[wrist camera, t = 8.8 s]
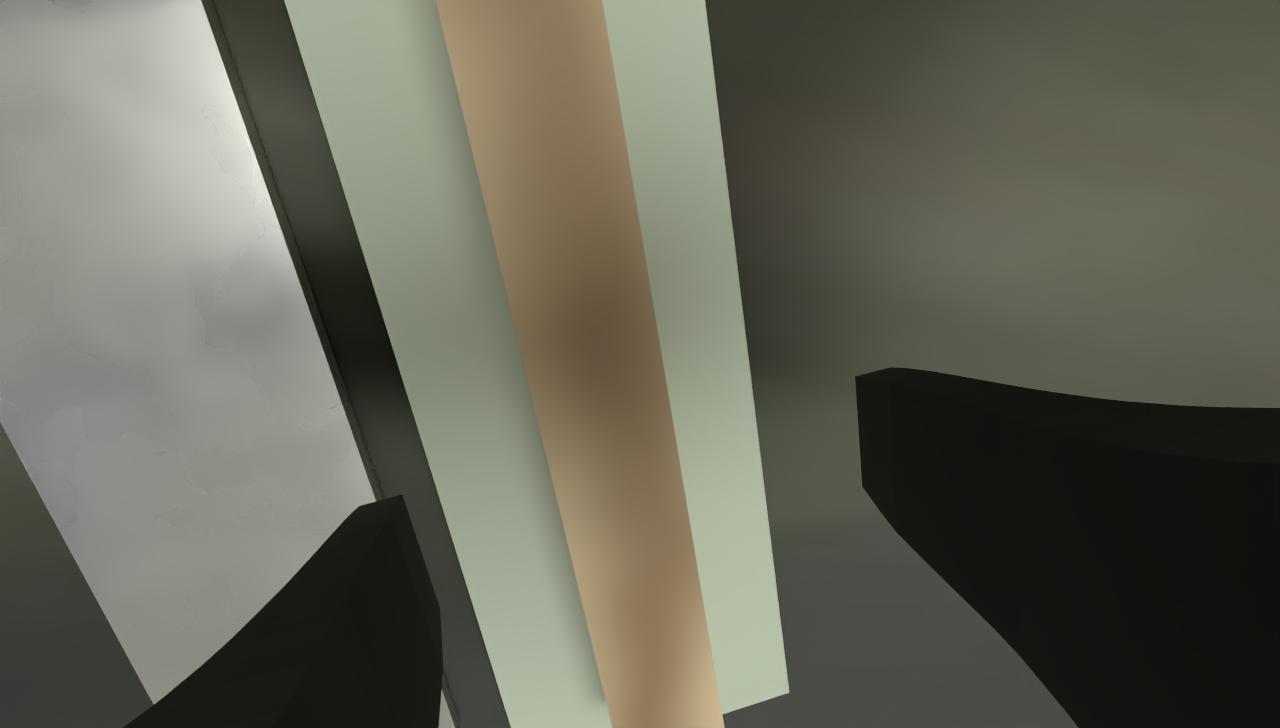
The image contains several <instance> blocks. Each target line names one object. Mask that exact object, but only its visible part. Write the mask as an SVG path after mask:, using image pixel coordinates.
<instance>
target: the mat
mask: <svg viewBox="0 0 1280 728" xmlns="http://www.w3.org/2000/svg"><path fill="white" fill-rule="evenodd" d="M284 1H285V4H286V7H287V11H288V14H289V17H290V20H291V23H292V27H293V30H294V33H295V36H296V40H297V43H298V46H299V49H300V52H301V56H302V59H303V62H304V65H305V68H306V72H307V75H308V78H309V81H310V84H311V88H312V91H313V94H314V97H315V100H316V104H317V107H318V110H319V113H320V116H321V120H322V123H323V126H324V129H325V133H326V136H327V139H328V142H329V145H330V149H331V152H332V155H333V158H334V161H335V165H336V168H337V171H338V174H339V177H340V181H341V184H342V187H343V190H344V193H345V197H346V200H347V203H348V206H349V210H350V213H351V216H352V219H353V222H354V226H355V229H356V232H357V235H358V238H359V242H360V245H361V248H362V251H363V254H364V258H365V261H366V264H367V267H368V270H369V274H370V277H371V280H372V283H373V287H374V290H375V293H376V296H377V299H378V303H379V306H380V309H381V312H382V315H383V319H384V322H385V325H386V328H387V331H388V335H389V338H390V341H391V344H392V347H393V351H394V354H395V357H396V360H397V364H398V367H399V370H400V373H401V376H402V380H403V383H404V386H405V389H406V392H407V396H408V399H409V402H410V405H411V408H412V412H413V415H414V418H415V421H416V424H417V428H418V431H419V434H420V437H421V441H422V444H423V447H424V450H425V453H426V457H427V460H428V463H429V466H430V469H431V473H432V476H433V479H434V482H435V485H436V489H437V492H438V495H439V498H440V501H441V505H442V508H443V511H444V514H445V518H446V521H447V524H448V527H449V530H450V534H451V537H452V540H453V543H454V546H455V550H456V553H457V556H458V559H459V562H460V566H461V569H462V572H463V575H464V578H465V582H466V585H467V588H468V591H469V594H470V598H471V601H472V604H473V607H474V611H475V614H476V617H477V620H478V623H479V627H480V630H481V633H482V636H483V639H484V643H485V646H486V649H487V652H488V655H489V659H490V662H491V665H492V668H493V671H494V675H495V678H496V681H497V684H498V688H499V691H500V694H501V697H502V700H503V704H504V707H505V710H506V713H507V716H508V720H509V723H510V726H511V728H612V724H611V720H610V716H609V712H608V708H607V704H606V700H605V696H604V691H603V687H602V683H601V679H600V675H599V671H598V667H597V663H596V659H595V654H594V650H593V646H592V642H591V638H590V634H589V630H588V626H587V622H586V617H585V613H584V609H583V605H582V601H581V597H580V593H579V589H578V585H577V580H576V576H575V572H574V568H573V564H572V560H571V556H570V552H569V548H568V543H567V539H566V535H565V531H564V527H563V523H562V519H561V515H560V511H559V506H558V502H557V498H556V494H555V490H554V486H553V482H552V478H551V474H550V469H549V465H548V461H547V457H546V453H545V449H544V445H543V441H542V437H541V432H540V428H539V424H538V420H537V416H536V412H535V408H534V404H533V400H532V395H531V391H530V387H529V383H528V379H527V375H526V371H525V367H524V363H523V358H522V354H521V350H520V346H519V342H518V338H517V334H516V330H515V326H514V321H513V317H512V313H511V309H510V305H509V301H508V297H507V293H506V289H505V284H504V280H503V276H502V272H501V268H500V264H499V260H498V256H497V252H496V247H495V243H494V239H493V235H492V231H491V227H490V223H489V219H488V215H487V210H486V206H485V202H484V198H483V194H482V190H481V186H480V182H479V178H478V173H477V169H476V165H475V161H474V157H473V153H472V149H471V145H470V141H469V136H468V132H467V128H466V124H465V120H464V116H463V112H462V108H461V104H460V99H459V95H458V91H457V87H456V83H455V79H454V75H453V71H452V67H451V62H450V58H449V54H448V50H447V46H446V42H445V38H444V34H443V30H442V25H441V21H440V17H439V13H438V9H437V5H436V1H435V0H284ZM602 2H603V8H604V14H605V20H606V26H607V32H608V38H609V43H610V49H611V55H612V61H613V67H614V73H615V79H616V85H617V91H618V97H619V103H620V109H621V115H622V121H623V127H624V133H625V139H626V145H627V151H628V157H629V163H630V169H631V175H632V180H633V186H634V192H635V198H636V204H637V210H638V216H639V222H640V228H641V234H642V240H643V246H644V252H645V258H646V264H647V270H648V276H649V282H650V288H651V294H652V300H653V306H654V311H655V317H656V323H657V329H658V335H659V341H660V347H661V353H662V359H663V365H664V371H665V377H666V383H667V389H668V395H669V401H670V407H671V413H672V419H673V425H674V431H675V437H676V442H677V448H678V454H679V460H680V466H681V472H682V478H683V484H684V490H685V496H686V502H687V508H688V514H689V520H690V526H691V532H692V538H693V544H694V550H695V556H696V562H697V568H698V574H699V579H700V585H701V591H702V597H703V603H704V609H705V615H706V621H707V627H708V633H709V639H710V645H711V651H712V657H713V663H714V669H715V675H716V681H717V687H718V693H719V699H720V705H721V710H722V714H725V713H728V712H731V711H734V710H737V709H740V708H743V707H746V706H749V705H753V704H756V703H759V702H762V701H765V700H768V699H771V698H774V697H777V696H780V695H783V694H786V693H789V687H788V678H787V670H786V662H785V654H784V645H783V637H782V629H781V621H780V613H779V604H778V596H777V588H776V580H775V572H774V563H773V555H772V547H771V539H770V531H769V522H768V514H767V506H766V498H765V489H764V481H763V473H762V465H761V457H760V448H759V440H758V432H757V424H756V416H755V407H754V399H753V391H752V383H751V375H750V366H749V358H748V350H747V342H746V333H745V325H744V317H743V309H742V301H741V292H740V284H739V276H738V268H737V260H736V251H735V243H734V235H733V227H732V219H731V210H730V202H729V194H728V186H727V177H726V169H725V161H724V153H723V145H722V136H721V128H720V120H719V112H718V104H717V95H716V87H715V79H714V71H713V62H712V54H711V46H710V38H709V30H708V21H707V13H706V5H705V0H602Z"/></svg>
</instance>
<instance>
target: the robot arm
mask: <svg viewBox="0 0 1280 728" xmlns="http://www.w3.org/2000/svg"><path fill="white" fill-rule="evenodd" d="M855 380H856V395H857V410H858V426H859V441H860V456H861V471H862V487H863V488H864V489H865V491H866V492H867V494H868V495H869V496H870V498H871V499H872V500H873V502H874V503H875V505H876V506H877V507H878V509H879V510H880V512H881V513H882V514H883V515H884V517H885V518H886V519H887V521H888V522H889V523H890V524H891V526H892V527H893V528H894V529H895V531H896V532H897V533H898V534H899V535H900V536H901V537H902V538H903V539H904V540H905V541H906V542H907V543H908V544H909V545H910V546H911V547H912V548H913V549H914V550H915V551H916V552H917V553H918V554H919V555H920V556H921V557H922V558H923V559H924V560H925V561H926V562H927V563H928V564H929V565H930V566H931V567H932V568H933V569H934V570H935V571H936V572H937V573H938V574H939V575H940V576H941V577H942V578H943V579H944V580H945V581H946V582H947V583H948V584H949V585H950V586H951V587H952V588H953V589H954V590H955V591H956V592H957V593H958V594H959V595H960V596H961V597H962V598H963V599H964V600H965V601H966V602H967V603H968V604H969V605H970V606H971V607H972V608H974V609H975V610H976V611H977V612H978V613H979V614H980V615H981V616H982V617H983V618H984V619H985V620H986V621H987V622H988V623H989V624H990V625H991V626H992V627H993V628H994V629H995V630H996V631H997V632H998V633H999V634H1000V635H1001V636H1002V637H1003V638H1004V639H1005V641H1006V642H1007V643H1008V644H1009V645H1010V646H1011V647H1012V648H1013V649H1014V650H1015V651H1016V652H1017V653H1018V654H1019V656H1020V657H1021V658H1022V659H1023V660H1024V661H1025V663H1026V664H1027V665H1028V666H1029V667H1030V669H1031V670H1032V671H1033V672H1034V673H1035V675H1036V676H1037V677H1038V678H1039V680H1040V681H1041V682H1042V683H1043V684H1044V686H1045V687H1046V688H1047V689H1048V690H1049V692H1050V693H1051V694H1052V695H1053V696H1054V698H1055V699H1056V700H1057V701H1058V702H1059V704H1060V705H1061V706H1062V707H1063V708H1064V710H1065V711H1066V712H1067V713H1068V715H1069V716H1070V717H1071V718H1072V720H1073V721H1074V722H1075V724H1076V725H1077V726H1078V727H1079V728H1280V408H1232V407H1199V406H1179V405H1166V404H1153V403H1140V402H1127V401H1117V400H1108V399H1099V398H1091V397H1084V396H1077V395H1070V394H1062V393H1055V392H1048V391H1042V390H1036V389H1030V388H1023V387H1018V386H1012V385H1006V384H1000V383H995V382H989V381H984V380H978V379H973V378H967V377H961V376H956V375H950V374H944V373H938V372H932V371H925V370H917V369H908V368H886V369H883V370H879V371H875V372H871V373H867V374H863V375H860V376H856V377H855ZM442 677H443V656H442V636H441V620H440V607H439V604H438V601H437V598H436V595H435V592H434V589H433V586H432V583H431V580H430V577H429V574H428V571H427V568H426V565H425V562H424V559H423V556H422V553H421V550H420V547H419V544H418V541H417V538H416V535H415V532H414V529H413V526H412V523H411V520H410V517H409V514H408V511H407V508H406V505H405V502H404V499H403V496H402V495H399V496H396V497H392V498H388V499H384V500H380V501H376V502H373V503H369V504H365V505H361V506H359V507H358V508H356V509H355V510H354V511H353V512H352V513H351V514H350V515H349V516H348V517H347V518H346V519H345V520H344V521H343V522H342V523H341V525H340V526H339V527H338V528H337V529H336V530H335V531H334V532H333V533H332V534H331V535H330V537H329V538H328V539H327V540H326V541H325V542H324V543H323V544H322V546H321V547H320V548H319V549H318V550H317V551H316V552H315V553H314V554H313V555H312V556H311V558H310V559H309V560H308V561H307V562H306V563H305V564H304V565H303V566H302V567H301V568H300V570H299V571H298V572H297V573H296V574H295V575H294V576H293V577H292V578H291V579H290V580H289V582H288V583H287V584H286V585H285V586H284V587H283V588H282V589H281V590H280V591H279V592H278V593H277V594H276V595H275V596H274V597H273V598H272V599H271V600H270V601H269V602H268V603H267V604H266V605H265V606H264V607H263V608H262V609H261V610H260V611H259V612H258V613H257V614H256V615H255V616H254V617H253V618H252V619H251V620H250V621H249V622H248V623H247V624H246V625H245V626H244V627H243V628H242V629H241V630H240V631H239V632H238V633H237V634H236V635H235V636H234V637H233V638H231V639H230V640H229V641H228V642H227V643H226V644H225V645H224V646H223V647H222V648H221V649H220V650H218V651H217V652H216V653H215V654H214V655H213V656H212V657H211V658H209V659H208V660H207V661H206V662H205V663H204V664H203V665H201V666H200V667H199V668H198V669H197V670H195V671H194V672H193V673H192V674H191V675H190V676H188V677H187V678H186V679H185V680H184V681H182V682H181V683H180V684H179V685H178V686H176V687H175V688H174V689H173V690H172V691H170V692H169V693H168V694H167V695H166V696H164V697H163V698H162V699H161V700H159V701H158V702H157V703H155V704H154V705H153V706H152V707H150V708H149V709H148V710H146V711H145V712H144V713H142V714H141V715H140V716H138V717H137V718H136V719H134V720H133V721H131V722H130V723H129V724H127V725H126V726H125V727H123V728H439V716H440V703H441V690H442Z"/></svg>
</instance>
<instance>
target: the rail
mask: <svg viewBox="0 0 1280 728" xmlns="http://www.w3.org/2000/svg"><path fill="white" fill-rule="evenodd" d="M435 1H436V5H437V9H438V13H439V17H440V21H441V25H442V30H443V34H444V38H445V42H446V46H447V50H448V54H449V58H450V62H451V67H452V71H453V75H454V79H455V83H456V87H457V91H458V95H459V99H460V104H461V108H462V112H463V116H464V120H465V124H466V128H467V132H468V136H469V141H470V145H471V149H472V153H473V157H474V161H475V165H476V169H477V173H478V178H479V182H480V186H481V190H482V194H483V198H484V202H485V206H486V210H487V215H488V219H489V223H490V227H491V231H492V235H493V239H494V243H495V247H496V252H497V256H498V260H499V264H500V268H501V272H502V276H503V280H504V284H505V289H506V293H507V297H508V301H509V305H510V309H511V313H512V317H513V321H514V326H515V330H516V334H517V338H518V342H519V346H520V350H521V354H522V358H523V363H524V367H525V371H526V375H527V379H528V383H529V387H530V391H531V395H532V400H533V404H534V408H535V412H536V416H537V420H538V424H539V428H540V432H541V437H542V441H543V445H544V449H545V453H546V457H547V461H548V465H549V469H550V474H551V478H552V482H553V486H554V490H555V494H556V498H557V502H558V506H559V511H560V515H561V519H562V523H563V527H564V531H565V535H566V539H567V543H568V548H569V552H570V556H571V560H572V564H573V568H574V572H575V576H576V580H577V585H578V589H579V593H580V597H581V601H582V605H583V609H584V613H585V617H586V622H587V626H588V630H589V634H590V638H591V642H592V646H593V650H594V654H595V659H596V663H597V667H598V671H599V675H600V679H601V683H602V687H603V691H604V696H605V700H606V704H607V708H608V712H609V716H610V720H611V724H612V728H724V722H723V716H722V710H721V705H720V699H719V693H718V687H717V681H716V675H715V669H714V663H713V657H712V651H711V645H710V639H709V633H708V627H707V621H706V615H705V609H704V603H703V597H702V591H701V585H700V579H699V574H698V568H697V562H696V556H695V550H694V544H693V538H692V532H691V526H690V520H689V514H688V508H687V502H686V496H685V490H684V484H683V478H682V472H681V466H680V460H679V454H678V448H677V442H676V437H675V431H674V425H673V419H672V413H671V407H670V401H669V395H668V389H667V383H666V377H665V371H664V365H663V359H662V353H661V347H660V341H659V335H658V329H657V323H656V317H655V311H654V306H653V300H652V294H651V288H650V282H649V276H648V270H647V264H646V258H645V252H644V246H643V240H642V234H641V228H640V222H639V216H638V210H637V204H636V198H635V192H634V186H633V180H632V175H631V169H630V163H629V157H628V151H627V145H626V139H625V133H624V127H623V121H622V115H621V109H620V103H619V97H618V91H617V85H616V79H615V73H614V67H613V61H612V55H611V49H610V43H609V38H608V32H607V26H606V20H605V14H604V8H603V2H602V0H435Z"/></svg>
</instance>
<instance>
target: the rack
mask: <svg viewBox="0 0 1280 728" xmlns="http://www.w3.org/2000/svg"><path fill="white" fill-rule="evenodd" d="M0 423H1V425H2V426H3V428H4V430H5V432H6V434H7V436H8V438H9V439H10V441H11V443H12V445H13V447H14V449H15V450H16V452H17V454H18V456H19V458H20V460H21V461H22V463H23V465H24V467H25V469H26V471H27V472H28V474H29V476H30V478H31V480H32V482H33V484H34V485H35V487H36V489H37V491H38V493H39V495H40V496H41V498H42V500H43V502H44V504H45V506H46V507H47V509H48V511H49V513H50V515H51V517H52V518H53V520H54V522H55V524H56V526H57V528H58V529H59V531H60V533H61V535H62V537H63V539H64V541H65V542H66V544H67V546H68V548H69V550H70V552H71V553H72V555H73V557H74V559H75V561H76V563H77V564H78V566H79V568H80V570H81V572H82V574H83V575H84V577H85V579H86V581H87V583H88V585H89V587H90V588H91V590H92V592H93V594H94V596H95V598H96V599H97V601H98V603H99V605H100V607H101V609H102V610H103V612H104V614H105V616H106V618H107V620H108V621H109V623H110V625H111V627H112V629H113V631H114V633H115V634H116V636H117V638H118V640H119V642H120V644H121V645H122V647H123V649H124V651H125V653H126V655H127V656H128V658H129V660H130V662H131V664H132V666H133V667H134V669H135V671H136V673H137V675H138V677H139V679H140V680H141V682H142V684H143V686H144V688H145V690H146V691H147V693H148V695H149V697H150V699H151V701H152V702H153V704H155V703H157V702H158V701H159V700H161V699H162V698H163V697H164V696H166V695H167V694H168V693H169V692H170V691H172V690H173V689H174V688H175V687H176V686H178V685H179V684H180V683H181V682H182V681H184V680H185V679H186V678H187V677H188V676H190V675H191V674H192V673H193V672H194V671H195V670H197V669H198V668H199V667H200V666H201V665H203V664H204V663H205V662H206V661H207V660H208V659H209V658H211V657H212V656H213V655H214V654H215V653H216V652H217V651H218V650H220V649H221V648H222V647H223V646H224V645H225V644H226V643H227V642H228V641H229V640H230V639H231V638H233V637H234V636H235V635H236V634H237V633H238V632H239V631H240V630H241V629H242V628H243V627H244V626H245V625H246V624H247V623H248V622H249V621H250V620H251V619H252V618H253V617H254V616H255V615H256V614H257V613H258V612H259V611H260V610H261V609H262V608H263V607H264V606H265V605H266V604H267V603H268V602H269V601H270V600H271V599H272V598H273V597H274V596H275V595H276V594H277V593H278V592H279V591H280V590H281V589H282V588H283V587H284V586H285V585H286V584H287V583H288V582H289V580H290V579H291V578H292V577H293V576H294V575H295V574H296V573H297V572H298V571H299V570H300V568H301V567H302V566H303V565H304V564H305V563H306V562H307V561H308V560H309V559H310V558H311V556H312V555H313V554H314V553H315V552H316V551H317V550H318V549H319V548H320V547H321V546H322V544H323V543H324V542H325V541H326V540H327V539H328V538H329V537H330V535H331V534H332V533H333V532H334V531H335V530H336V529H337V528H338V527H339V526H340V525H341V523H342V522H343V521H344V520H345V519H346V518H347V517H348V516H349V515H350V514H351V513H352V512H353V511H354V510H355V509H356V508H358V507H359V506H361V505H365V504H369V503H373V502H376V501H380V500H384V498H383V496H382V493H381V490H380V487H379V484H378V481H377V478H376V475H375V472H374V469H373V466H372V464H371V461H370V458H369V455H368V452H367V449H366V446H365V443H364V440H363V437H362V435H361V432H360V429H359V426H358V423H357V420H356V417H355V414H354V411H353V408H352V405H351V403H350V400H349V397H348V394H347V391H346V388H345V385H344V382H343V379H342V376H341V374H340V371H339V368H338V365H337V362H336V359H335V356H334V353H333V350H332V347H331V345H330V342H329V339H328V336H327V333H326V330H325V327H324V324H323V321H322V318H321V315H320V313H319V310H318V307H317V304H316V301H315V298H314V295H313V292H312V289H311V286H310V284H309V281H308V278H307V275H306V272H305V269H304V266H303V263H302V260H301V257H300V254H299V252H298V249H297V246H296V243H295V240H294V237H293V234H292V231H291V228H290V225H289V223H288V220H287V217H286V214H285V211H284V208H283V205H282V202H281V199H280V196H279V194H278V191H277V188H276V185H275V182H274V179H273V176H272V173H271V170H270V167H269V164H268V162H267V159H266V156H265V153H264V150H263V147H262V144H261V141H260V138H259V135H258V133H257V130H256V127H255V124H254V121H253V118H252V115H251V112H250V109H249V106H248V103H247V101H246V98H245V95H244V92H243V89H242V86H241V83H240V80H239V77H238V74H237V72H236V69H235V66H234V63H233V60H232V57H231V54H230V51H229V48H228V45H227V43H226V40H225V37H224V34H223V31H222V28H221V25H220V22H219V19H218V16H217V13H216V11H215V8H214V5H213V2H212V0H0ZM439 728H460V719H459V716H458V713H457V710H456V707H455V705H454V702H453V699H452V696H451V693H450V690H449V687H448V684H447V681H446V678H445V676H444V673H443V677H442V690H441V703H440V716H439Z"/></svg>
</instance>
